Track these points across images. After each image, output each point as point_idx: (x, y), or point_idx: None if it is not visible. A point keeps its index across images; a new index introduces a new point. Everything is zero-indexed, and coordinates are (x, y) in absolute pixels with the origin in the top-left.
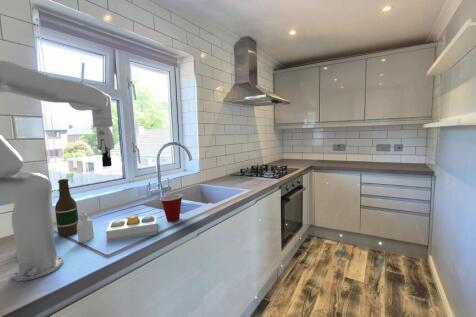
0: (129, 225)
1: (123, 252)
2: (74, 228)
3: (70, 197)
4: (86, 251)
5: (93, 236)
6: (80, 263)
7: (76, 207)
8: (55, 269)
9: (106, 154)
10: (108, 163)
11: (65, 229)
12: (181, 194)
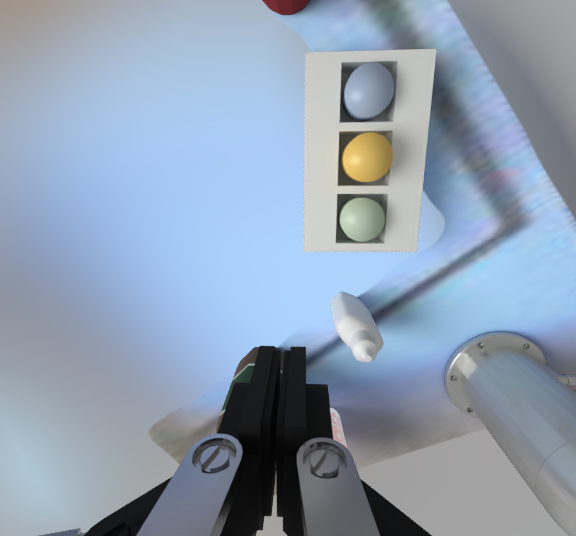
0: (398, 171)
1: (516, 182)
2: (281, 361)
3: None
4: (444, 290)
5: (344, 292)
6: (517, 290)
7: None
8: (527, 339)
9: (410, 526)
10: (326, 387)
11: None
12: None
